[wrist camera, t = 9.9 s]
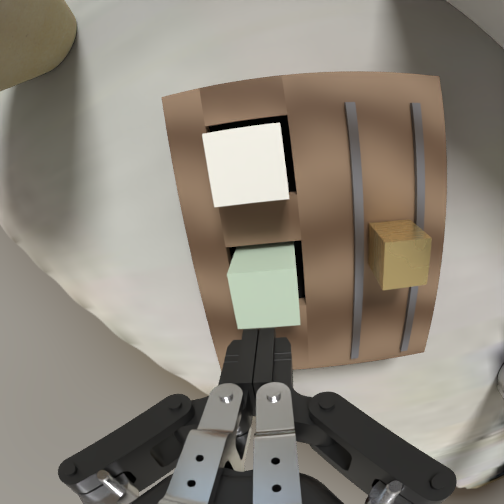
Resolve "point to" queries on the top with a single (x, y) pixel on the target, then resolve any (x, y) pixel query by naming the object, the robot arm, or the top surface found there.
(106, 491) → the robot arm
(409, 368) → the top surface
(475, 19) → the rounded white slab
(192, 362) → the top surface
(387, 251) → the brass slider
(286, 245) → the sage green button
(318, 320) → the switch panel
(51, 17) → the plant pot
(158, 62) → the top surface
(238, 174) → the off-white button
